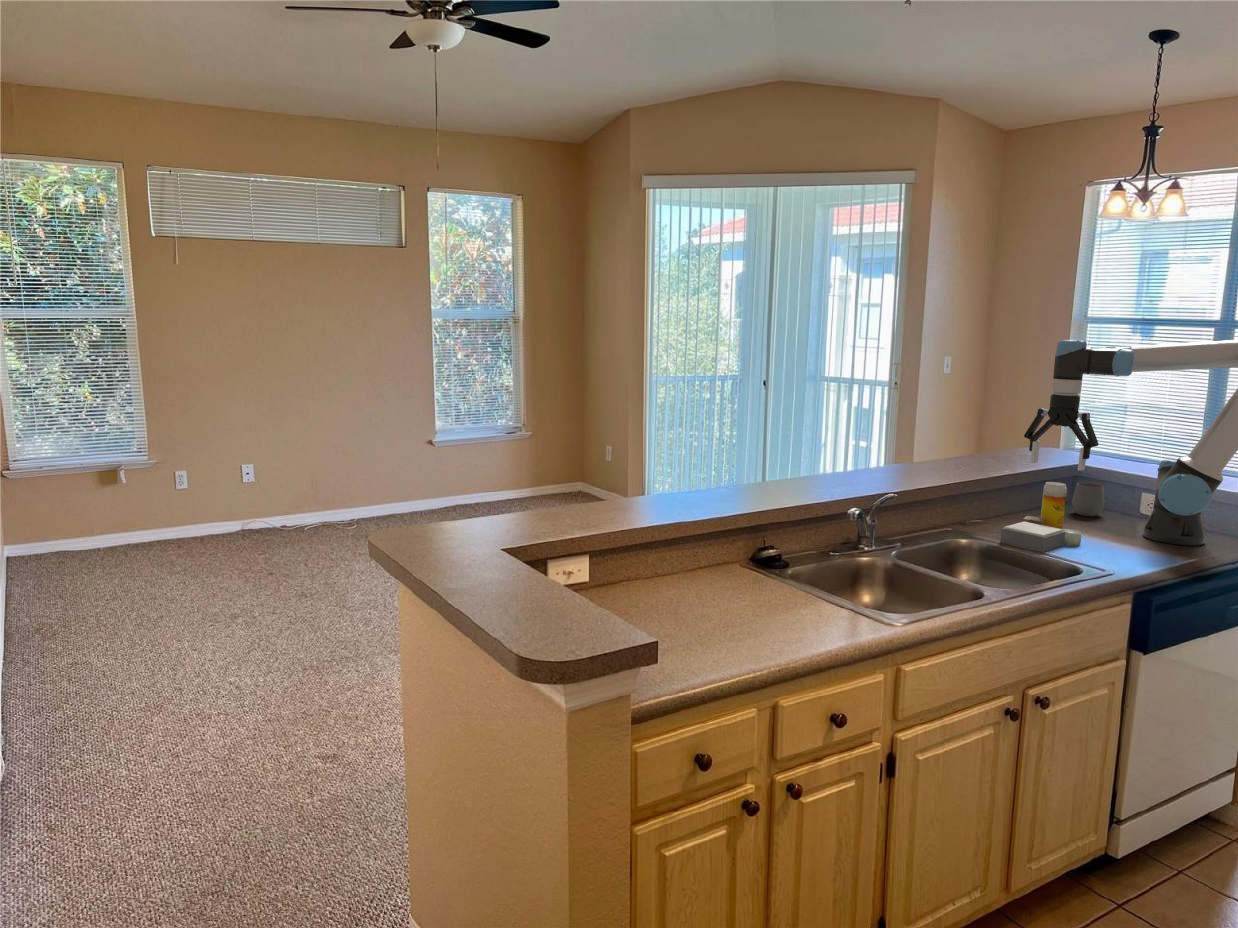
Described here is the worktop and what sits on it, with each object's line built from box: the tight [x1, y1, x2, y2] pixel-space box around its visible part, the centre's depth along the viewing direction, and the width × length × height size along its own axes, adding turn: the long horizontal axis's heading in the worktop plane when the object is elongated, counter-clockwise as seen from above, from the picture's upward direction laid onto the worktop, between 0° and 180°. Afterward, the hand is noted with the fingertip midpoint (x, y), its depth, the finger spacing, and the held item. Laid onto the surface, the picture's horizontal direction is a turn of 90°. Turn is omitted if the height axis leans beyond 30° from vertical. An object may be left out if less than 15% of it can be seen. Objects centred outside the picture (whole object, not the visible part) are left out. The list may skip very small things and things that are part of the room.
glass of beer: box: [1039, 481, 1068, 529], centre depth 248 cm, size 6×6×15 cm
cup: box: [1071, 481, 1105, 517], centre depth 274 cm, size 10×9×10 cm
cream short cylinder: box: [1062, 528, 1083, 547], centre depth 238 cm, size 6×6×4 cm
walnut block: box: [1022, 515, 1046, 526], centre depth 247 cm, size 5×5×5 cm
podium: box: [999, 521, 1065, 553], centre depth 237 cm, size 12×12×5 cm
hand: (1057, 466), depth 246 cm, fingers open, 13 cm apart
